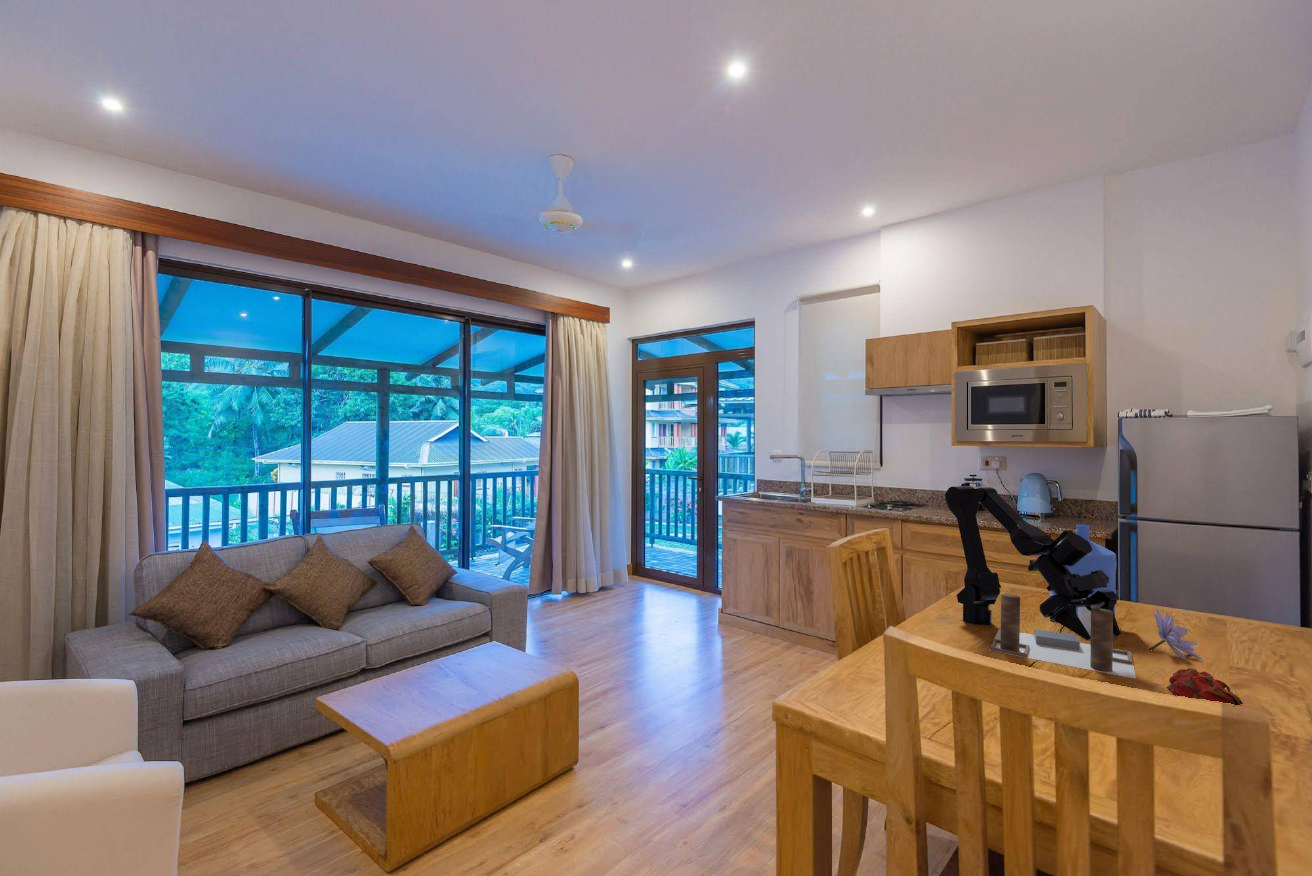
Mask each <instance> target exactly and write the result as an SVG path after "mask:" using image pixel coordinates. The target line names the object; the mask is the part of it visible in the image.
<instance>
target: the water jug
mask: <svg viewBox="0 0 1312 876" xmlns="http://www.w3.org/2000/svg"><path fill="white" fill-rule="evenodd" d="M1075 526H1076V530H1075V534H1077V535H1079V536H1081V537H1082V538H1084V539H1085V540H1087V541H1088V542H1089V543H1090V545H1091V547H1092V551H1091V552H1090V553H1089V554H1088V555H1087V556H1085V557H1084V558H1083V559H1082V560H1080V561H1079V562H1078V563H1077V564H1075V565H1074V566H1067V565H1066V566H1067V568H1068V569H1069V570H1070V572H1071V573H1072V574H1079V575H1080V576H1083V575H1088V574H1091V572H1093V571H1096V570H1102V571H1103V572H1104V573H1105V574H1106V575H1107V576H1108V577H1109V583H1107V586H1108V587H1105V588H1103V587H1101V588H1096V589H1093V591H1094V592H1093V593H1092V594H1089V595H1088V596H1089V597H1090V596H1091V595H1093V594H1094V593H1095V592H1097V591H1102V590H1110V591H1114V593H1115V594H1116V595H1117V589H1116V588H1117V587H1116V584H1117V583H1116V580H1117V577H1116V575H1117V565H1118V564H1117V554H1116V553H1115V552H1113V551H1112V550H1109V549H1108V548H1106V547H1104V546H1102V545H1100V544H1098V543H1095V542H1094V541H1092V540H1091V539H1090V533H1091V532H1090V525H1087V524H1075ZM1052 595H1056V594H1055V593H1054V591H1050V593H1049V597H1050V596H1052ZM1113 611H1114V615H1115V616H1116V605H1114V610H1113ZM1076 614H1077V616H1078V610H1077V607H1076ZM1051 621H1052V622H1054V623H1056V624H1059V623H1058V622H1056V621H1054V620H1051Z"/></svg>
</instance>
